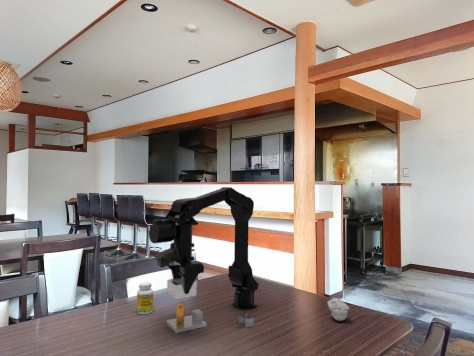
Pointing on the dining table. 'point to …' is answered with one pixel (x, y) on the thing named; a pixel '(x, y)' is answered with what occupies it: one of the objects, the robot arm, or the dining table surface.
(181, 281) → the grey square frame
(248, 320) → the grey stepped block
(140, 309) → the supplement bottle
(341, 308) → the grey stone carving
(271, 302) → the dining table surface
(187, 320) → the peg stand
